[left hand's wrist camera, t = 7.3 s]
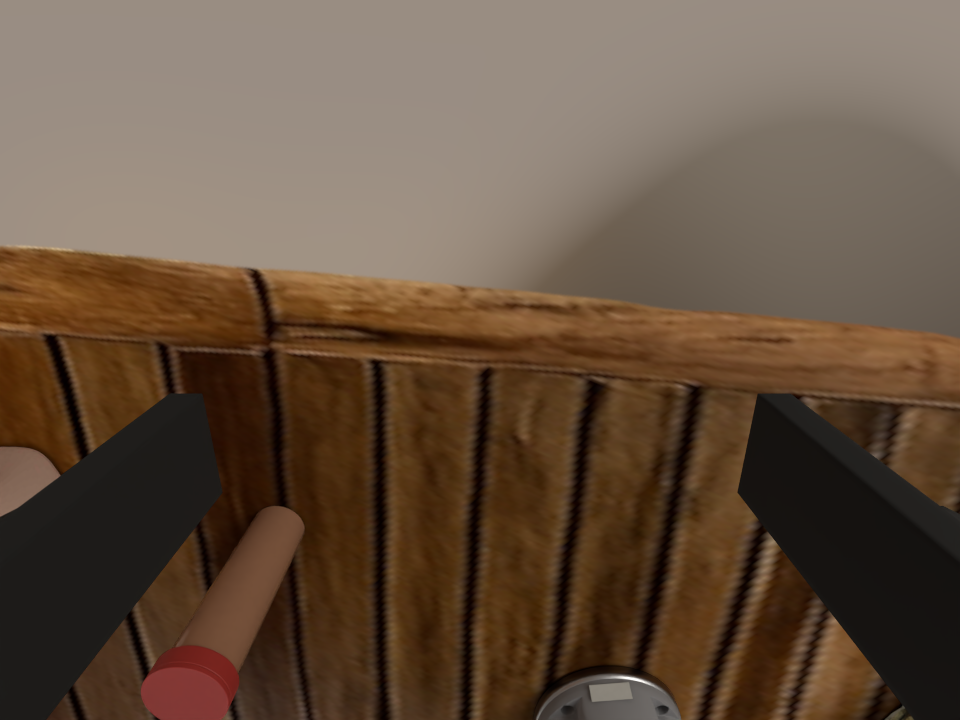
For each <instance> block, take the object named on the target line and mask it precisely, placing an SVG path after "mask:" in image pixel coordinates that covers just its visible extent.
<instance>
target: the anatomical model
mask: <svg viewBox="0 0 960 720" xmlns="http://www.w3.org/2000/svg"><path fill="white" fill-rule="evenodd" d="M58 477H60V474H59V472H58V471H57V469H56V468H55V467H54V465H53V464H52V463H51V461H50V460H49V459H48V458H46V457H45V456H44V455H43V454H42V453H40V452H38V451H36V450H33V449H30V448H25V447H0V517H1V516H3V515H5V514H7V513H9V512H11V511H13V510H14V509H16V508H18V507H20V506H21V505H22V504H24V503H25V502H26V501H28V500H29V499H30V498H32V497H33V496H34V495H36V494H37V493H38V492H40V491H41V490H42V489H44V488H45V487H46V486H48V485H49V484H50V483H52V482H53V481H54V480H56V479H57V478H58Z"/></svg>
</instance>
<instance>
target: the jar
mask: <svg viewBox="0 0 960 720" xmlns="http://www.w3.org/2000/svg"><path fill="white" fill-rule="evenodd" d="M303 535H304V524H303V521H302V520H301V518H300V517H299V516H298V515H297V514H296V513H295V512H294V511H292V510H290V509H288V508H285V507H281V506H270V507H266V508H264V509H262V510H261V511H259V512H258V513H257V514H256V516H255V517H254V519H253V521H252V522H251V524H250V525H249V527H248V528H247V530H246V532H245V533H244V535H243V536H242V538H241V540H240V541H239V543H238V544H237V546H236V547H235V549H234V551H233V552H232V554H231V555H230V557H229V559H228V560H227V562H226V563H225V565H224V566H223V568H222V570H221V571H220V573H219V574H218V576H217V578H216V579H215V581H214V582H213V584H212V585H211V587H210V589H209V590H208V592H207V593H206V595H205V596H204V598H203V600H202V601H201V603H200V604H199V606H198V608H197V609H196V611H195V612H194V614H193V615H192V617H191V619H190V620H189V622H188V623H187V625H186V627H185V628H184V630H183V631H182V633H181V634H180V636H179V638H178V639H177V641H176V642H175V644H174V646H173V647H172V648H175V647H179V646H186V645H194V646H201V647H205V648H209V649H211V650H214V651H216V652H218V653H220V654H221V655H223V656H224V657H226V658H227V659H228V660H229V661H230V662H231V663H232V664H233V665H234V667H235V668H236V670H237V673H238V674H239V672H240V670H241V667H242V665H243V663H244V661H245V659H246V657H247V655H248V653H249V650H250V648H251V646H252V644H253V642H254V640H255V638H256V636H257V633H258V631H259V629H260V627H261V625H262V623H263V621H264V619H265V616H266V614H267V612H268V610H269V608H270V606H271V604H272V602H273V599H274V597H275V595H276V593H277V591H278V589H279V587H280V585H281V582H282V580H283V578H284V576H285V574H286V572H287V570H288V568H289V565H290V563H291V561H292V559H293V557H294V555H295V553H296V551H297V548H298V546H299V544H300V542H301V540H302V538H303Z"/></svg>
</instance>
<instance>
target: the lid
mask: <svg viewBox="0 0 960 720" xmlns="http://www.w3.org/2000/svg"><path fill="white" fill-rule="evenodd" d="M238 686H239V676H238V673H237V670H236V668H235V667H234V665H233V664H232V663H231V662H230V661H229V660H228V659H227V658H226V657H224V656H223V655H221V654H220V653H218V652H216V651H214V650H211V649H209V648H205V647H201V646H194V645H186V646H179V647H175V648H172V649H170V650H168V651H166V652H165V653H163V654H162V655H161V656H160V657H159V659H158V660H157V661H156V663H155V665H154V666H153V668H152V669H151V671H150V672H149V674H148V675H147V677H146V679H145V680H144V682H143V684H142V687H141V697H142V700H143V702H144V704H145V706H146V707H147V709H148V710H149V711H150V712H151V713H152V714H153V715H155V716H156V717H157V718H159V719H161V720H221V719H222V718H223V717H224V716H225V714H226V713H227V711H228V709H229V706H230V704H231V702H232V700H233V698H234V696H235V693H236V691H237V689H238Z"/></svg>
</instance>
